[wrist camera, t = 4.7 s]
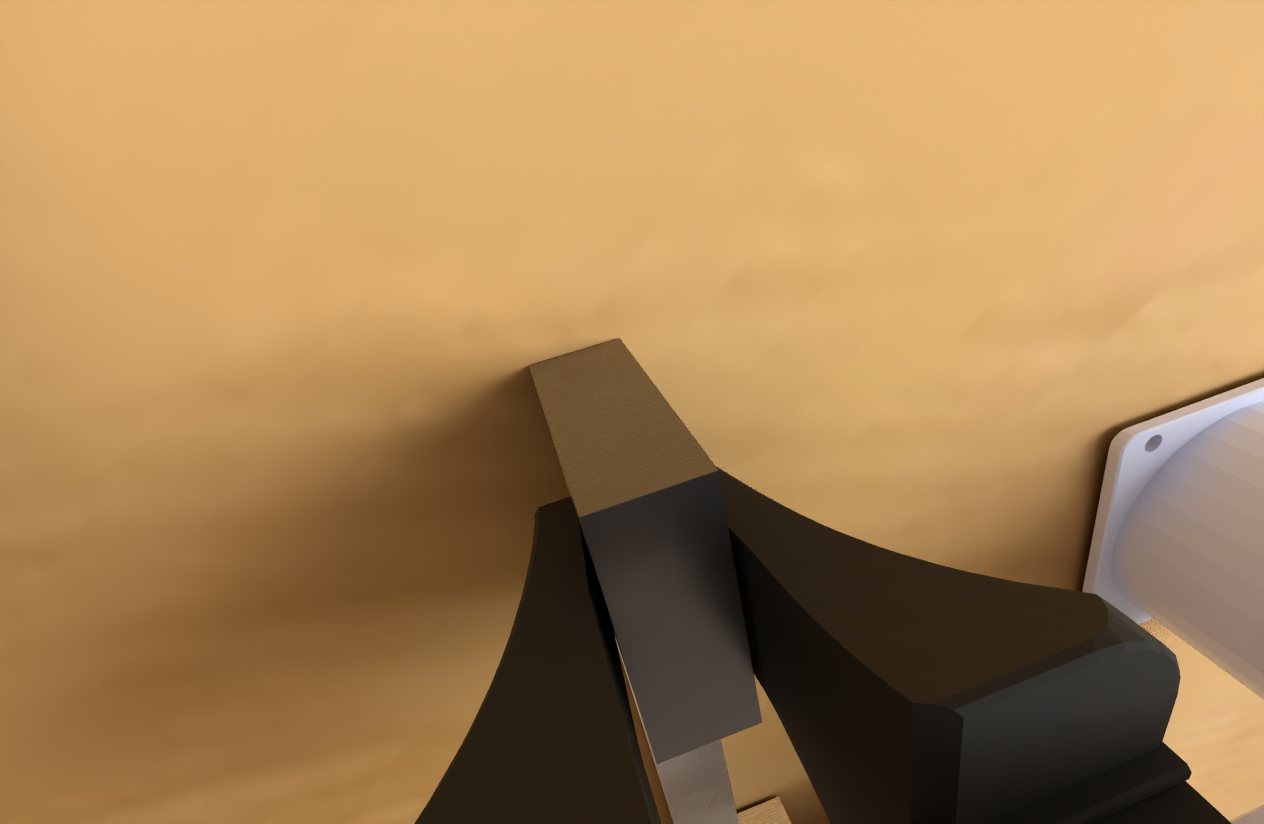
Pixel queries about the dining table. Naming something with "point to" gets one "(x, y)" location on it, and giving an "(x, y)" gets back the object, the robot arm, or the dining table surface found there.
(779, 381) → the dining table surface
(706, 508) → the blade tool
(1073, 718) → the robot arm
